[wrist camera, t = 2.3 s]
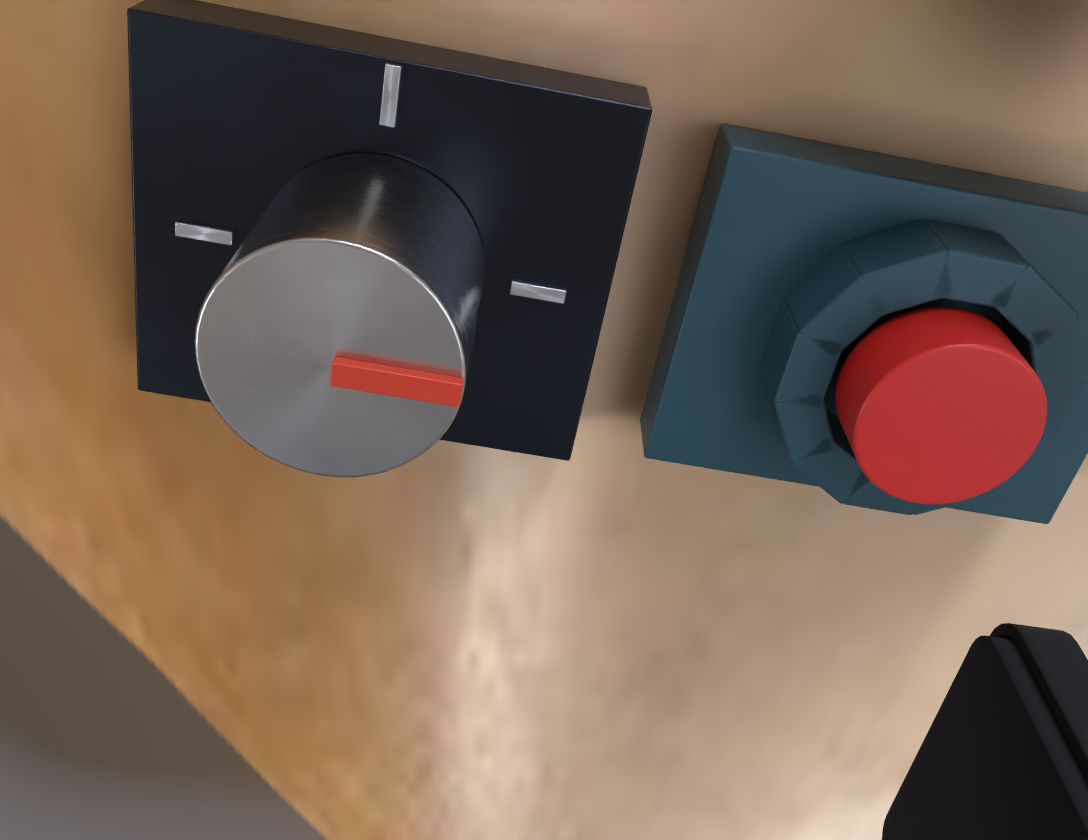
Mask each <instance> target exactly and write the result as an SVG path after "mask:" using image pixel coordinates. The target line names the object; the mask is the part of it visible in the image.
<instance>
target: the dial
mask: <svg viewBox="0 0 1088 840" xmlns="http://www.w3.org/2000/svg"><path fill="white" fill-rule="evenodd" d="M484 271H485V266H484V253H483V248H482V243H481V240H480V237H479V234H478V231H477V228H476V226H475V224H474V222H473V220H472V218H471V216H470V214H469V213H468V211H467V210H466V208H465V207H464V205H463V204H462V202H461V201H460V200H459V199H458V198H457V197H456V195H455V194H454V193H453V192H452V191H451V190H450V189H449V188H448V187H447V186H446V185H444V184H443V183H442V182H441V181H440V180H438V179H437V178H436V177H434V176H433V175H431V174H430V173H428V172H427V171H425V170H423V169H421V168H419V167H417V166H416V165H413V164H411V163H408V162H406V161H403V160H401V159H397V158H393V157H389V156H385V155H378V154H370V153H356V154H346V155H339V156H335V157H332V158H328V159H325V160H322V161H320V162H318V163H315V164H313V165H311V166H309V167H307V168H306V169H304V170H303V171H301V172H300V173H298V174H297V175H296V176H294V177H293V178H292V179H291V180H290V181H289V182H288V183H287V184H286V185H285V186H284V187H283V188H282V189H281V191H280V192H279V193H278V194H277V196H276V197H275V199H274V200H273V201H272V203H271V204H270V206H269V207H268V208H267V210H266V211H265V213H264V214H263V215H262V217H261V218H260V219H259V221H258V222H257V224H256V225H255V226H254V228H253V229H252V231H251V232H250V233H249V235H248V236H247V238H246V239H245V240H244V242H243V243H242V245H241V246H240V247H239V249H238V250H237V252H236V253H235V254H234V256H233V257H232V259H231V260H230V261H229V263H228V264H227V266H226V267H225V268H224V270H223V271H222V273H221V274H220V275H219V277H218V278H217V280H216V281H215V282H214V284H213V286H212V287H211V289H210V290H209V292H208V294H207V295H206V297H205V299H204V302H203V304H202V306H201V309H200V311H199V315H198V319H197V323H196V330H195V356H196V362H197V366H198V371H199V375H200V378H201V381H202V383H203V386H204V389H205V391H206V393H207V395H208V397H209V399H210V401H211V403H212V404H213V406H214V407H215V409H216V410H217V412H218V413H219V414H220V416H221V417H222V419H223V420H224V421H225V422H226V423H227V424H228V425H229V426H230V428H231V429H232V430H233V431H234V432H235V433H236V434H238V435H239V436H240V437H241V438H242V439H243V440H244V441H245V442H247V443H248V444H250V445H251V446H252V447H254V448H255V449H256V450H258V451H259V452H261V453H263V454H265V455H266V456H268V457H270V458H271V459H273V460H275V461H278V462H280V463H282V464H284V465H287V466H289V467H292V468H295V469H298V470H301V471H304V472H309V473H313V474H318V475H324V476H333V477H359V476H368V475H373V474H378V473H382V472H386V471H389V470H392V469H395V468H397V467H400V466H402V465H404V464H406V463H408V462H410V461H412V460H414V459H416V458H417V457H418V456H420V455H421V454H423V453H424V452H426V451H427V450H428V449H430V448H431V447H432V446H433V445H434V444H435V443H436V442H437V441H438V440H439V439H440V438H441V437H442V436H443V434H444V433H445V432H446V431H447V430H448V428H449V427H450V425H451V423H452V422H453V420H454V418H455V417H456V415H457V412H458V410H459V407H460V405H461V403H462V399H463V395H464V391H465V386H466V380H467V375H468V369H469V363H470V357H471V352H472V346H473V340H474V334H475V329H476V323H477V317H478V311H479V306H480V300H481V294H482V288H483V282H484Z"/></svg>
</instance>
